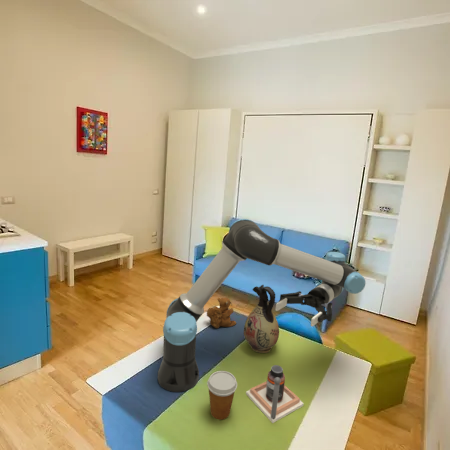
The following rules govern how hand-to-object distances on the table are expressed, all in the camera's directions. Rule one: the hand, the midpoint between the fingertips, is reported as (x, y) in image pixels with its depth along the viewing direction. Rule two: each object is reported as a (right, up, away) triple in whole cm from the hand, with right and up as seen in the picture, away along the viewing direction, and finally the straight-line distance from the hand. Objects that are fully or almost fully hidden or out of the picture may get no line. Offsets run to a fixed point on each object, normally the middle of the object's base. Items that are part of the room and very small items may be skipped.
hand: (293, 314), depth 105 cm
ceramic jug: (-8, -24, +30) cm, 39 cm away
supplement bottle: (-6, -29, +2) cm, 30 cm away
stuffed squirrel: (-26, -19, +47) cm, 57 cm away
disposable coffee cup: (-25, -30, -5) cm, 40 cm away
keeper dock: (-6, -30, +2) cm, 31 cm away
